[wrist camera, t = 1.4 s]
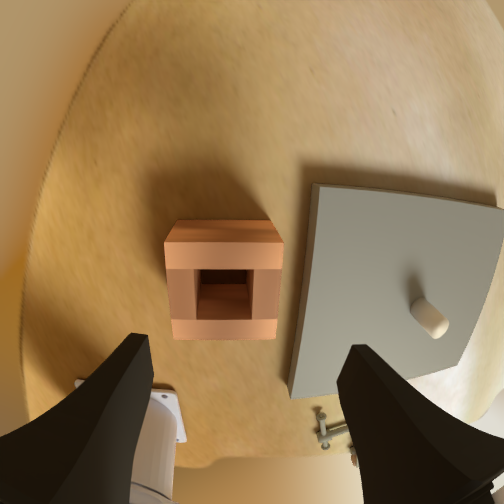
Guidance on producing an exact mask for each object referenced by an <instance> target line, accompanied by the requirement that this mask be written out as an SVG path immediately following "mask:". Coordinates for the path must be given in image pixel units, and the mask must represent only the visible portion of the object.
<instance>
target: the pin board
mask: <svg viewBox="0 0 504 504" xmlns="http://www.w3.org/2000/svg"><path fill="white" fill-rule="evenodd" d="M503 239H504V209H502V208H499V207H496V206H491V205H486V204H480V203H475V202H469V201H464V200H458V199H452V198H446V197H439V196H432V195H426V194H418V193H411V192H403V191H395V190H386V189H377V188H367V187H357V186H345V185H333V184H319V183H312V189H311V202H310V213H309V224H308V235H307V245H306V254H305V264H304V272H303V281H302V289H301V297H300V305H299V312H298V320H297V327H296V334H295V340H294V347H293V354H292V360H291V366H290V372H289V378H288V384H287V388H288V392H289V396H290V399H300V398H309V397H318V396H325V395H332V394H338V389H337V383H336V381H337V378H338V376H339V374H340V372H341V369H342V367H343V365H344V363H345V360H346V358H347V355H348V353H349V351H350V348H351V346H352V345H353V344H367V345H368V346H369V347H370V348H372V349H373V350H374V351H375V352H376V353H377V354H378V355H379V356H380V357H381V358H382V359H383V360H384V361H385V362H387V363H388V364H389V365H390V366H391V367H392V368H393V369H394V370H395V371H396V372H397V373H398V374H399V375H400V376H401V377H402V378H404V379H405V380H408V379H412V378H416V377H420V376H424V375H427V374H431V373H434V372H437V371H441V370H444V369H447V368H450V367H453V366H456V365H457V364H458V362H459V360H460V358H461V356H462V354H463V352H464V350H465V348H466V346H467V344H468V342H469V339H470V337H471V335H472V333H473V330H474V328H475V326H476V323H477V321H478V318H479V316H480V313H481V311H482V308H483V305H484V303H485V300H486V297H487V294H488V291H489V288H490V285H491V282H492V279H493V276H494V273H495V269H496V266H497V262H498V259H499V255H500V251H501V247H502V243H503Z"/></svg>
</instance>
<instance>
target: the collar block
mask: <svg viewBox="0 0 504 504" xmlns="http://www.w3.org/2000/svg"><path fill="white" fill-rule="evenodd" d="M283 248H284V242H283V240H282V239H281V237H280V235H279V233H278V232H277V230H276V228H275V227H274V225H273V223H272V222H271V220H177V221H176V223H175V225H174V226H173V228H172V230H171V231H170V233H169V235H168V236H167V238H166V240H165V241H164V250H165V264H166V275H167V286H168V296H169V305H170V314H171V322H172V330H173V337H174V339H178V340H259V339H275V337H276V327H277V317H278V307H279V296H280V285H281V273H282V261H283ZM201 269H247V276H246V284H201Z"/></svg>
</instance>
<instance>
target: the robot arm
mask: <svg viewBox="0 0 504 504" xmlns="http://www.w3.org/2000/svg"><path fill="white" fill-rule="evenodd" d="M153 377H154V371H153V366H152V359H151V353H150V346H149V339H148V335H145V334H138V333H130V334H129V335H128V336H127V337H126V338H125V339H124V341H123V342H122V343H121V344H120V345H119V346H118V347H117V348H116V349H115V350H114V351H113V353H112V354H111V355H110V356H109V357H108V358H107V359H106V360H105V361H104V362H103V363H102V364H101V365H100V366H99V367H98V368H97V369H96V370H95V371H94V372H93V373H92V374H91V375H90V376H89V377H88V378H87V379H86V380H79V379H77V380H75V383H74V384H75V387H76V389H75V390H74V391H73V392H72V393H70V394H69V395H68V396H67V397H66V398H64V399H63V400H62V401H60V402H59V403H58V404H57V405H55V406H54V407H52V408H51V409H50V410H48V411H47V412H45V413H44V414H42V415H41V416H39V417H38V418H36V419H35V420H33V421H31V422H29V423H28V424H26V425H24V426H22V427H20V428H18V429H16V430H14V431H12V432H10V433H8V434H6V435H4V436H1V437H0V504H179V503H178V502H174V501H172V486H173V472H174V460H175V449H176V442H186V441H187V437H186V432H185V428H184V424H183V420H182V415H181V411H180V406H179V402H178V397H177V393H176V392H175V391H173V390H163V389H152V384H153ZM336 383H337V389H338V395H339V400H340V404H341V408H342V411H343V414H344V417H345V420H346V423H347V426H348V429H349V432H350V435H351V438H352V441H353V444H354V448H355V451H356V455H357V458H358V463H359V469H360V475H361V481H362V490H363V498H364V504H504V486H503V487H501V488H500V489H499V490H497V491H496V492H495V493H493V494H492V495H491V492H490V490H491V489H493V488H494V485H493V483H492V481H493V480H494V479H496V478H497V477H498V476H499V475H501V474H502V473H503V472H504V439H503V438H500V437H497V436H493V435H491V434H488V433H486V432H483V431H481V430H478V429H476V428H474V427H472V426H470V425H468V424H466V423H464V422H462V421H460V420H459V419H457V418H455V417H453V416H452V415H450V414H448V413H447V412H445V411H444V410H442V409H441V408H440V407H438V406H437V405H435V404H434V403H432V402H431V401H430V400H428V399H427V398H426V397H425V396H423V395H422V394H421V393H420V392H419V391H417V390H416V389H415V388H414V387H413V386H411V385H410V384H409V383H408V382H407V381H406V380H405V379H404V378H402V377H401V376H400V375H399V374H398V373H397V372H396V371H395V370H394V369H393V368H392V367H391V366H390V365H389V364H388V363H387V362H385V361H384V360H383V359H382V358H381V357H380V356H379V355H378V354H377V353H376V352H375V351H374V350H373V349H372V348H370V347H369V346H368V345H367V344H353V345H352V346H351V348H350V351H349V353H348V355H347V358H346V360H345V363H344V365H343V367H342V369H341V372H340V374H339V376H338V378H337V381H336Z"/></svg>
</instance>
